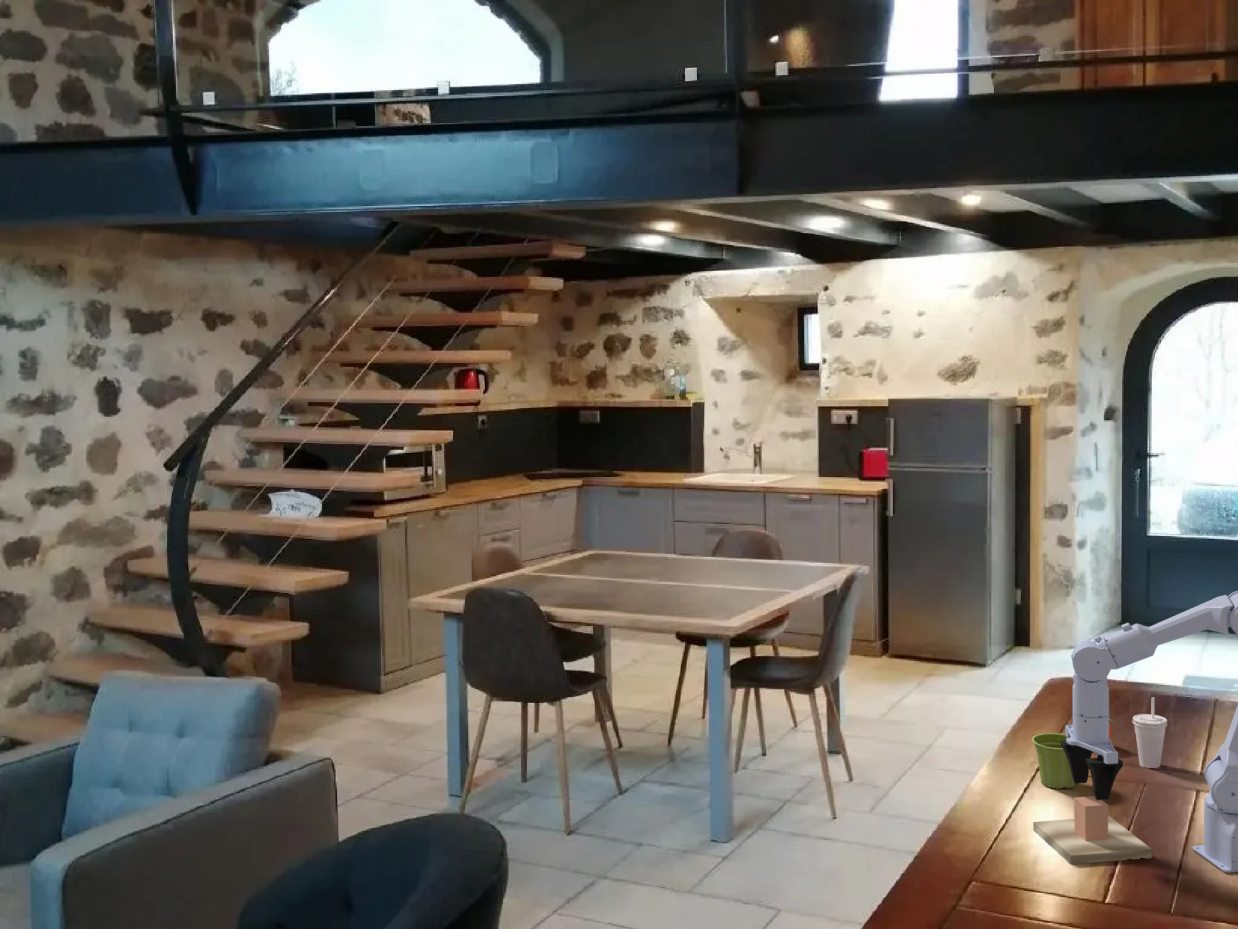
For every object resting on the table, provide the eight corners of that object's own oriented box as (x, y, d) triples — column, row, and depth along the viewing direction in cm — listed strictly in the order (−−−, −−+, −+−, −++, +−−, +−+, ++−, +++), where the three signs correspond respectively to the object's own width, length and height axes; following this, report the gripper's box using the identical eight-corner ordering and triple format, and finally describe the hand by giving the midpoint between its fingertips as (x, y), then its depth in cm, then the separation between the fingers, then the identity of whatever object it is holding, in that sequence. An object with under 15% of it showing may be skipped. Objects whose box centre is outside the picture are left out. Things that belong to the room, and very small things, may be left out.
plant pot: (1042, 772, 234) (1042, 729, 234) (1090, 781, 228) (1090, 738, 228) (1025, 786, 227) (1024, 743, 226) (1074, 796, 221) (1074, 752, 220)
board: (1152, 858, 194) (1152, 849, 194) (1070, 864, 193) (1070, 855, 193) (1109, 824, 208) (1109, 816, 208) (1033, 830, 207) (1033, 822, 207)
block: (1108, 839, 198) (1108, 805, 198) (1085, 840, 198) (1085, 806, 198) (1096, 829, 202) (1096, 796, 202) (1074, 831, 202) (1074, 797, 202)
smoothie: (1170, 771, 232) (1171, 702, 230) (1136, 770, 233) (1136, 702, 232) (1162, 760, 238) (1163, 693, 237) (1129, 759, 239) (1129, 692, 238)
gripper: (1048, 702, 205) (1049, 777, 206) (1088, 728, 191) (1088, 808, 192) (1087, 699, 206) (1087, 774, 207) (1130, 725, 191) (1130, 805, 193)
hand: (1090, 790), depth 200 cm, fingers open, 7 cm apart
